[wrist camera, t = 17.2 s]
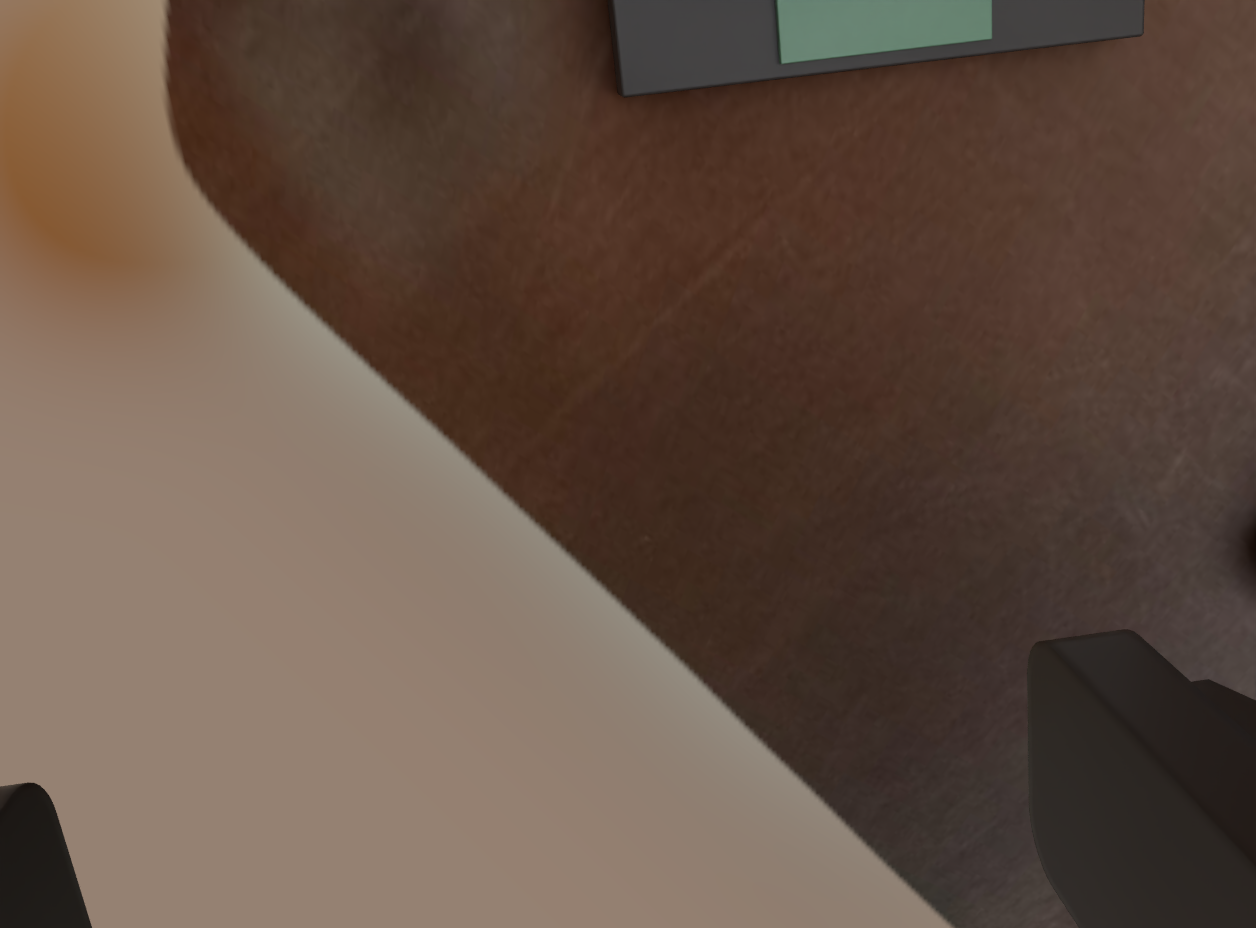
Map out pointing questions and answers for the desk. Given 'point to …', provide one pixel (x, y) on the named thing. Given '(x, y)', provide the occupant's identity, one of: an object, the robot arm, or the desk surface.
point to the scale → (837, 35)
